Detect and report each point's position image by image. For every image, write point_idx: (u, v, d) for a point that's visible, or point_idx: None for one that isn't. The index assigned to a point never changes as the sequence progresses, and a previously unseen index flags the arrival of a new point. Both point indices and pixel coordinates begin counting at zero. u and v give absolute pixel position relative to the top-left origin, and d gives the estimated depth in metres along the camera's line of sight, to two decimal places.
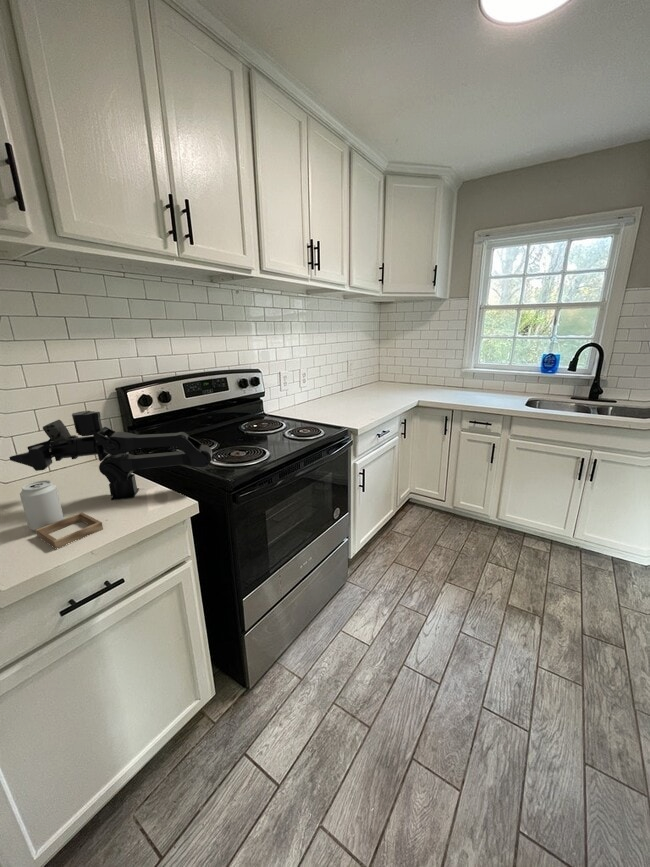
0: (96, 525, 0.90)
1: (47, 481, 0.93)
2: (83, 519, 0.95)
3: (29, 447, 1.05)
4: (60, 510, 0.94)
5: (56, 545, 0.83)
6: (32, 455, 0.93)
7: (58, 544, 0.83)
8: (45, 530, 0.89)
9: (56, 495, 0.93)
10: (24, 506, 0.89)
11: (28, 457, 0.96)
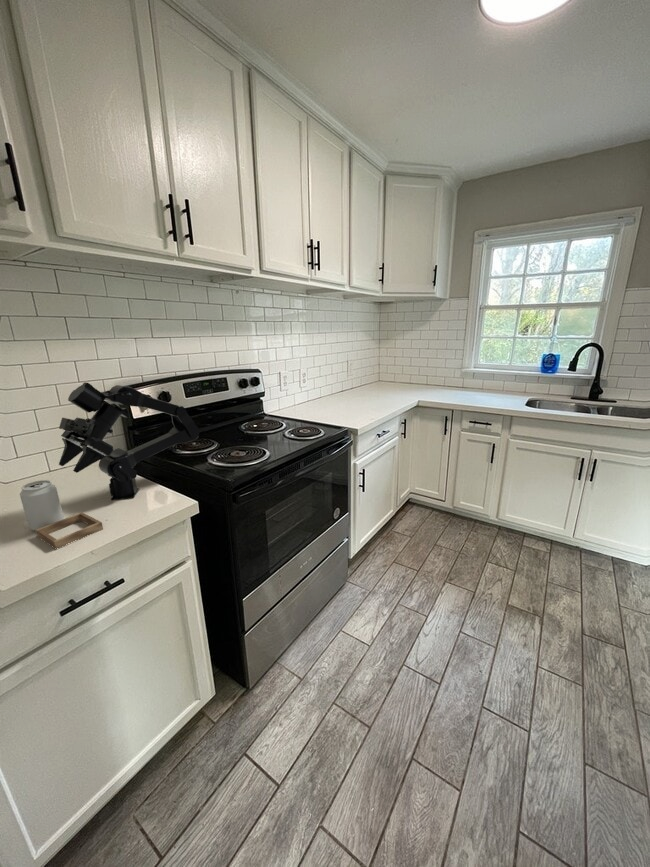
0: (96, 525, 0.90)
1: (47, 481, 0.93)
2: (83, 519, 0.95)
3: (61, 463, 0.99)
4: (60, 510, 0.94)
5: (56, 545, 0.83)
6: (96, 447, 0.93)
7: (58, 544, 0.83)
8: (45, 530, 0.89)
9: (56, 495, 0.93)
10: (24, 506, 0.89)
11: (88, 456, 0.95)
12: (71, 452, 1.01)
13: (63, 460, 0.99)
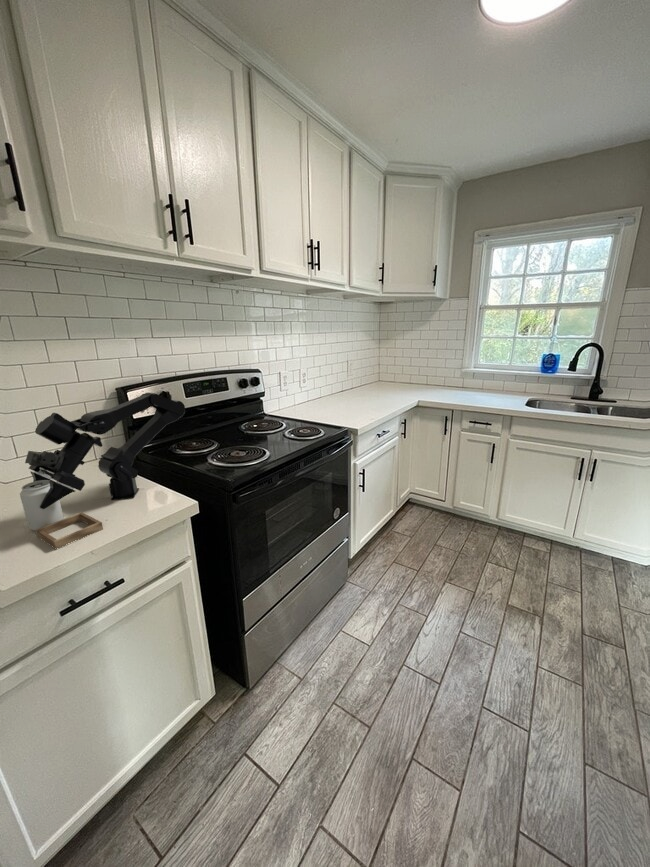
0: (96, 525, 0.90)
1: (47, 481, 0.93)
2: (83, 519, 0.95)
3: None
4: (60, 510, 0.94)
5: (56, 545, 0.83)
6: (66, 482, 0.88)
7: (58, 544, 0.83)
8: (45, 530, 0.89)
9: None
10: (24, 506, 0.89)
11: (56, 491, 0.90)
12: None
13: None
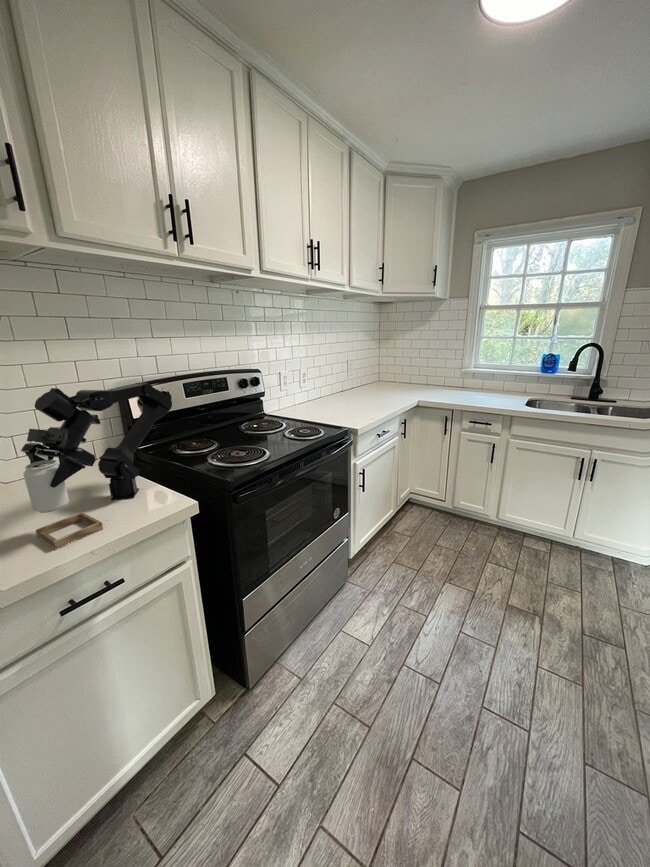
0: (96, 525, 0.90)
1: (49, 461, 0.89)
2: (83, 519, 0.95)
3: None
4: (66, 490, 0.91)
5: (56, 545, 0.83)
6: (80, 457, 0.86)
7: (58, 544, 0.83)
8: (45, 530, 0.89)
9: None
10: (31, 487, 0.84)
11: (66, 468, 0.87)
12: None
13: None
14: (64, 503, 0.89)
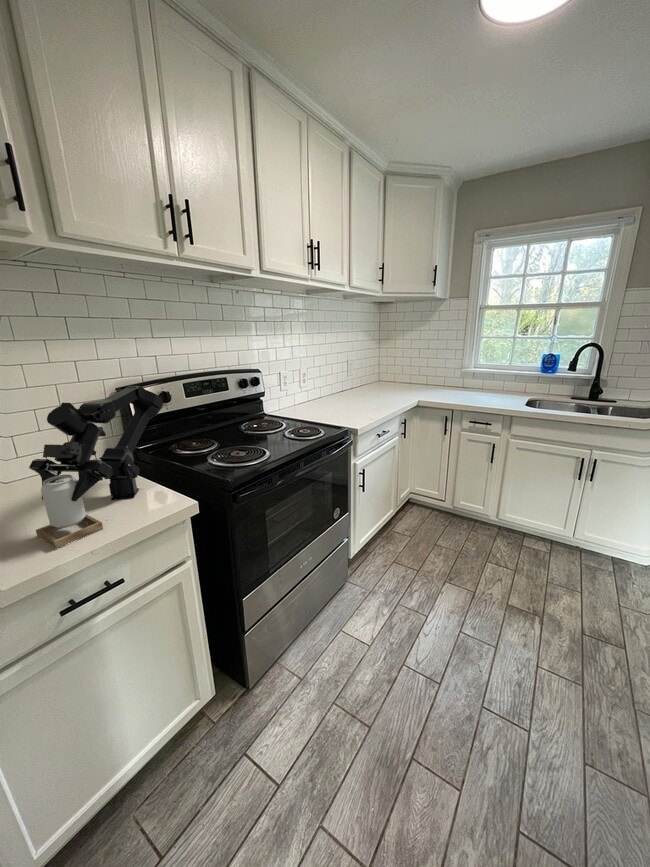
0: (96, 525, 0.90)
1: (64, 475, 0.89)
2: (83, 519, 0.95)
3: None
4: (82, 503, 0.91)
5: (56, 545, 0.83)
6: (101, 469, 0.88)
7: (58, 544, 0.83)
8: (45, 530, 0.89)
9: None
10: (51, 502, 0.84)
11: (85, 482, 0.88)
12: None
13: None
14: (83, 516, 0.89)
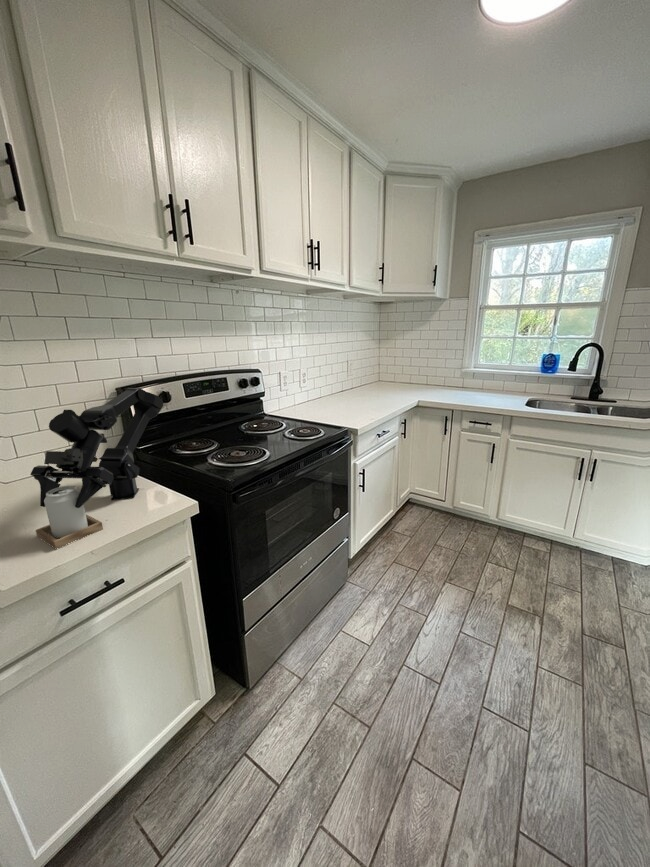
0: (96, 525, 0.90)
1: (67, 487, 0.90)
2: None
3: (43, 504, 0.87)
4: None
5: (56, 545, 0.83)
6: (102, 476, 0.88)
7: (58, 544, 0.83)
8: (45, 530, 0.89)
9: None
10: (54, 514, 0.85)
11: (88, 488, 0.88)
12: None
13: None
14: (85, 527, 0.90)
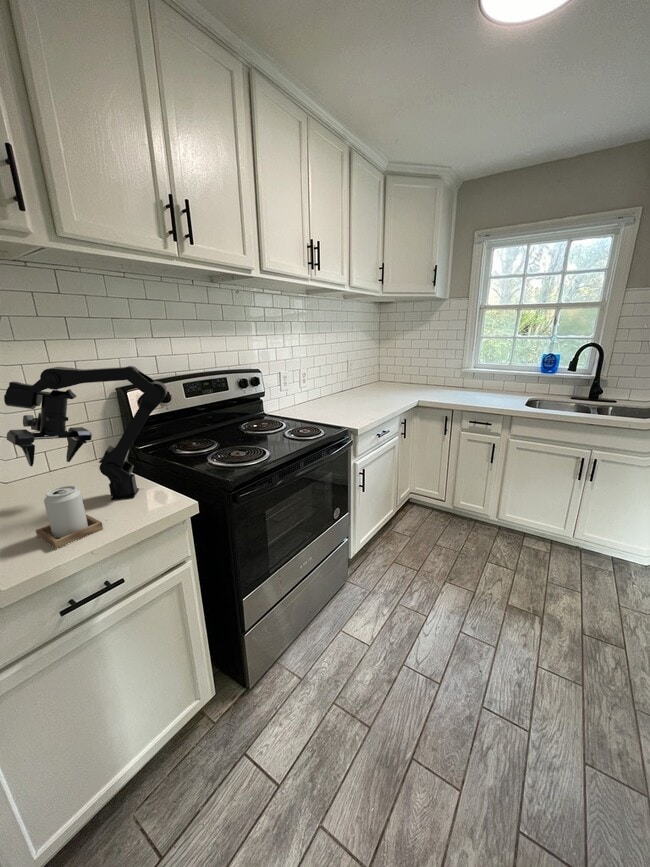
0: (96, 525, 0.90)
1: (67, 487, 0.90)
2: None
3: (67, 459, 1.06)
4: None
5: (56, 545, 0.83)
6: (8, 438, 0.93)
7: (58, 544, 0.83)
8: (45, 530, 0.89)
9: (81, 499, 0.90)
10: (54, 514, 0.85)
11: (26, 449, 0.96)
12: (70, 448, 1.05)
13: (67, 456, 1.06)
14: (85, 527, 0.90)
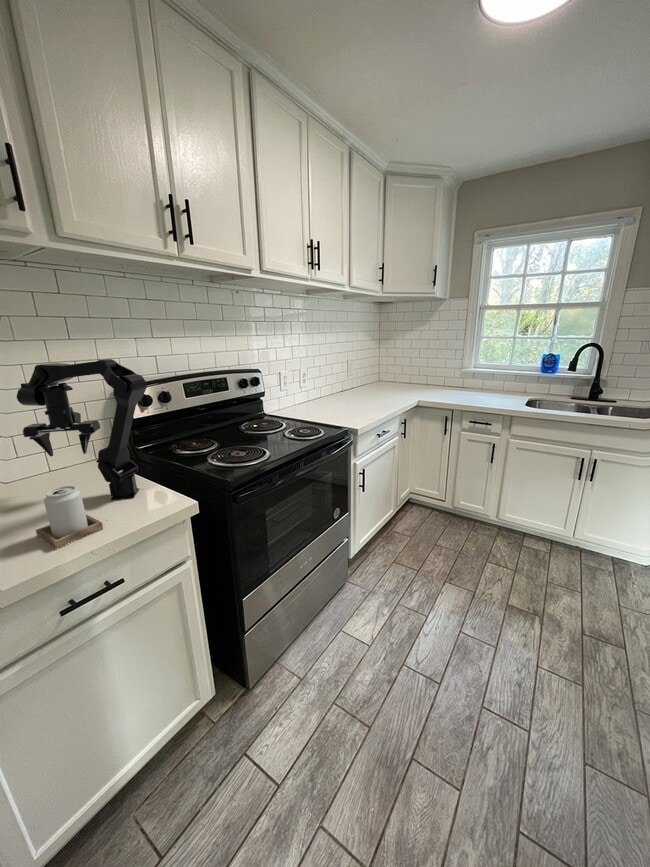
0: (96, 525, 0.90)
1: (67, 487, 0.90)
2: None
3: None
4: None
5: (56, 545, 0.83)
6: None
7: (58, 544, 0.83)
8: (45, 530, 0.89)
9: (81, 499, 0.90)
10: (54, 514, 0.85)
11: None
12: None
13: None
14: (85, 527, 0.90)
